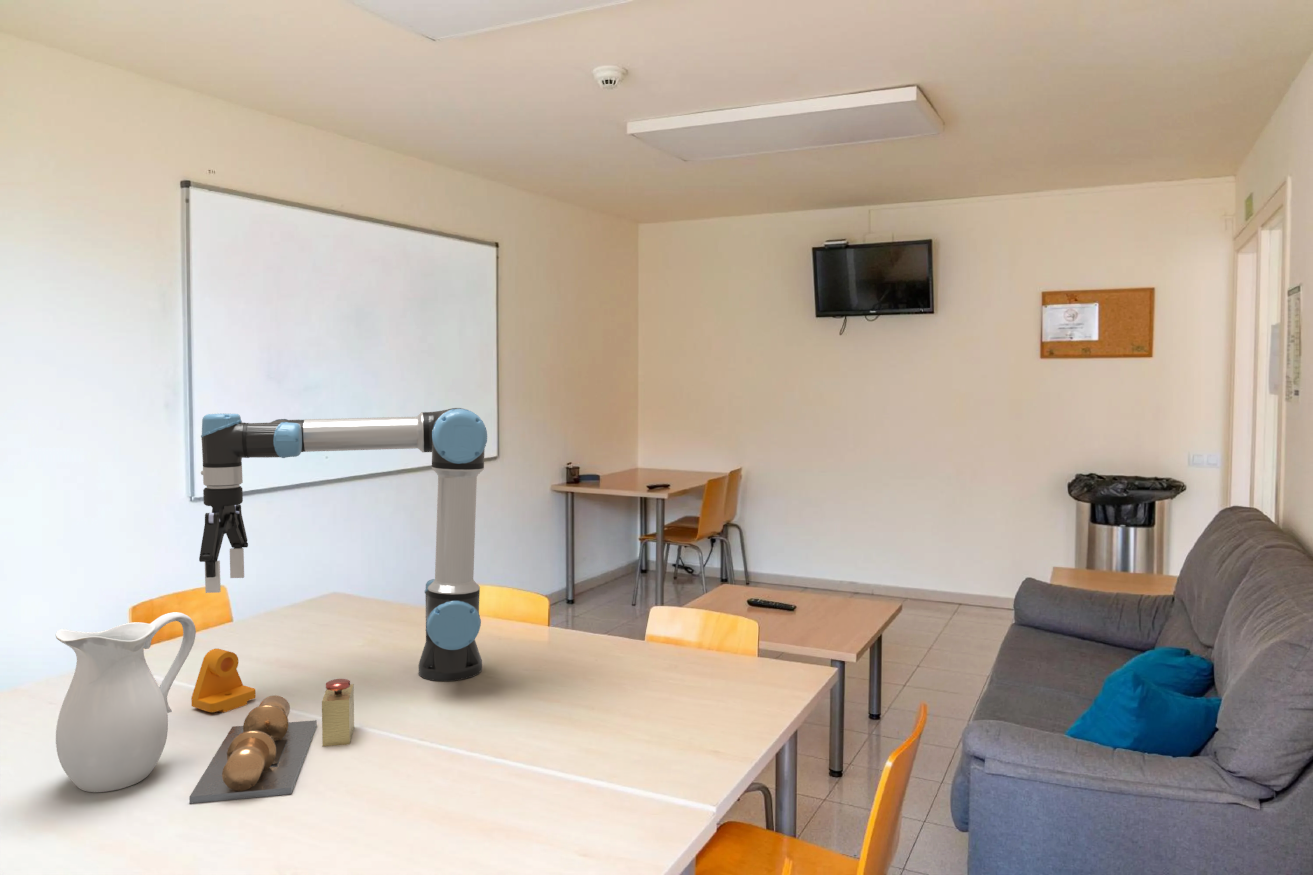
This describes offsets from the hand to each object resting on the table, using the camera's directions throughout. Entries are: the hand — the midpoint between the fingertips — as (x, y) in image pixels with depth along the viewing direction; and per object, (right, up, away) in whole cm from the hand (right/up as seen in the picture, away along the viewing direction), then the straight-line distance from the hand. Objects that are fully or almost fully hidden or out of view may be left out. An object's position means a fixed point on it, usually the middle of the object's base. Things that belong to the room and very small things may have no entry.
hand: (225, 584), depth 190 cm
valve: (+29, -28, -13) cm, 42 cm away
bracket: (-2, -27, +3) cm, 27 cm away
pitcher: (-2, -29, -29) cm, 41 cm away
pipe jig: (+18, -29, -25) cm, 42 cm away
